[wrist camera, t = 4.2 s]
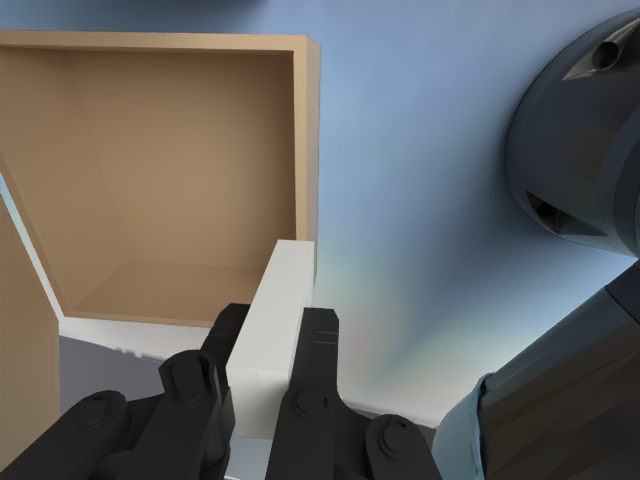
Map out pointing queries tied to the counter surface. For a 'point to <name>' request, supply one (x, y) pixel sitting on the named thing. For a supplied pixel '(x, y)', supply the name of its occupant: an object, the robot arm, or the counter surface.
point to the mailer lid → (24, 348)
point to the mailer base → (159, 164)
